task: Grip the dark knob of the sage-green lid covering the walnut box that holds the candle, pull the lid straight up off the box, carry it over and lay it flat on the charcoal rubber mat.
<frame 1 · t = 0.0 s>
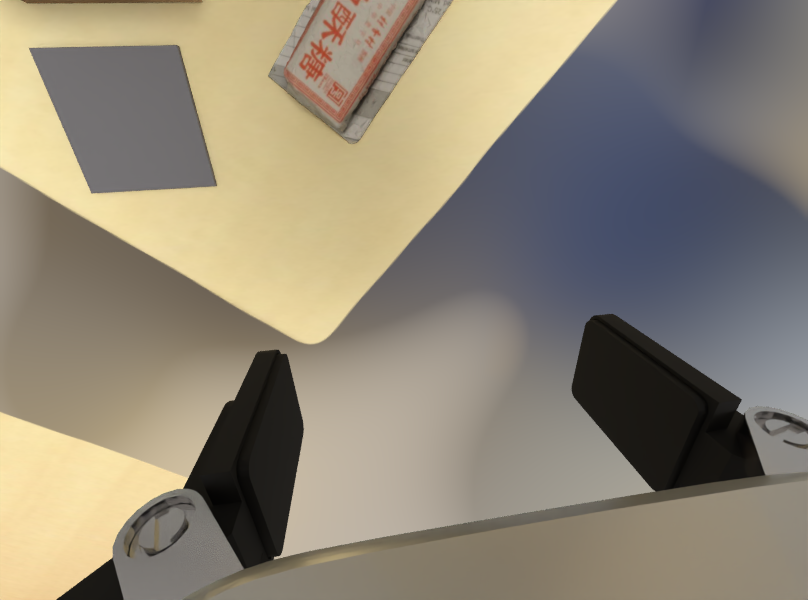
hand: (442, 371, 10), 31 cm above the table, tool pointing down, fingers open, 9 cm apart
packaged product: (365, 31, 32), on the table
mat: (134, 124, 32), on the table
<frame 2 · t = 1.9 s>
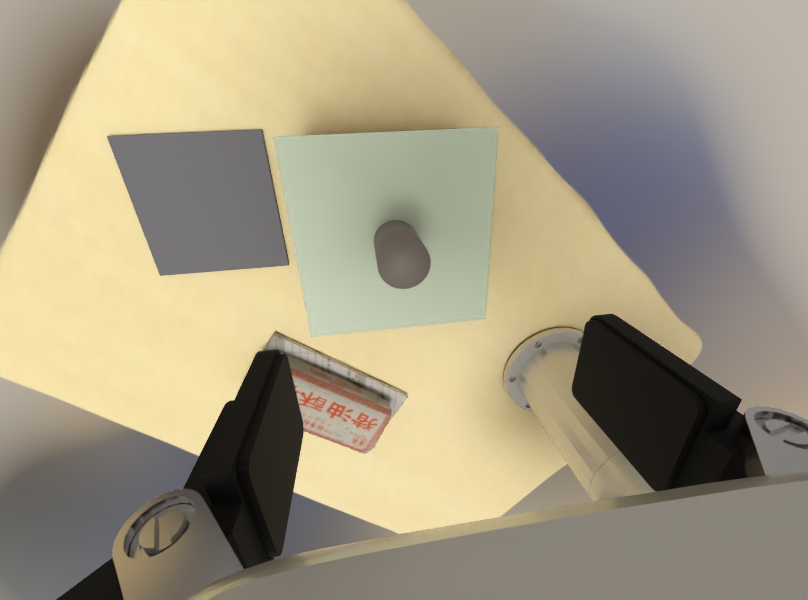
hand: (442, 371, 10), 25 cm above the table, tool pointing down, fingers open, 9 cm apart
lid: (394, 239, 25), point 8 cm above the table, touching box
packaged product: (326, 389, 41), on the table
mat: (208, 206, 30), on the table
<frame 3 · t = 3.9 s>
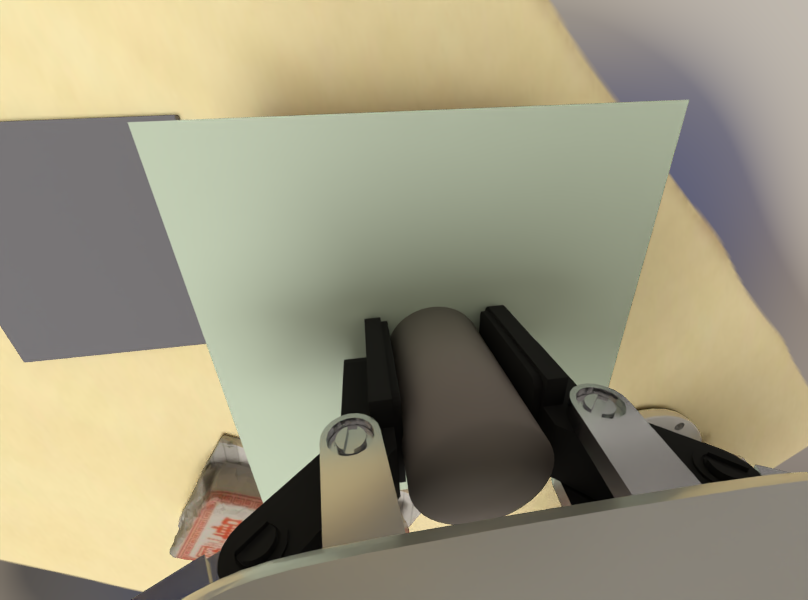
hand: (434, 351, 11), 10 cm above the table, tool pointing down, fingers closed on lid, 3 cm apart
lid: (428, 335, 12), point 8 cm above the table, touching box, gripper
packaged product: (312, 495, 29), on the table
mat: (95, 250, 17), on the table
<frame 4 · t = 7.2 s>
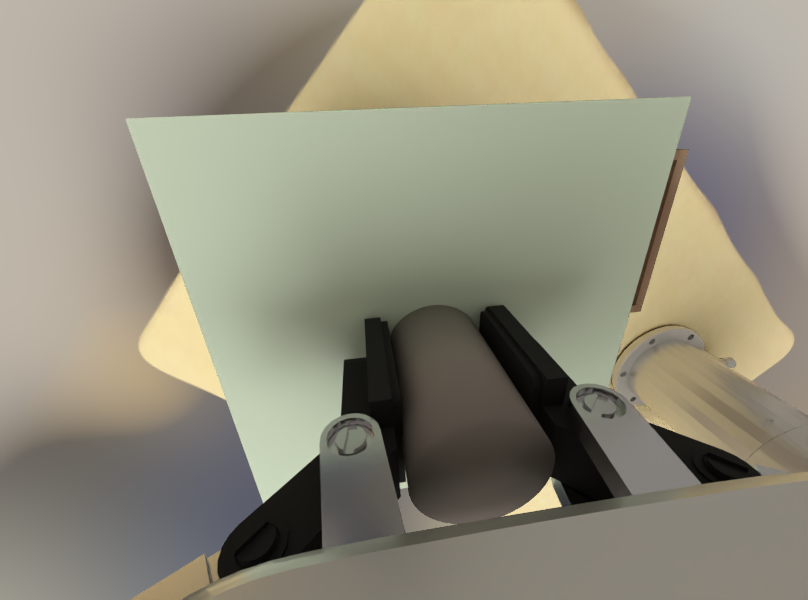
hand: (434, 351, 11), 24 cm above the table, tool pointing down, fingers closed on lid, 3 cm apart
lid: (428, 334, 12), point 23 cm above the table, touching gripper
box: (535, 222, 35), on the table
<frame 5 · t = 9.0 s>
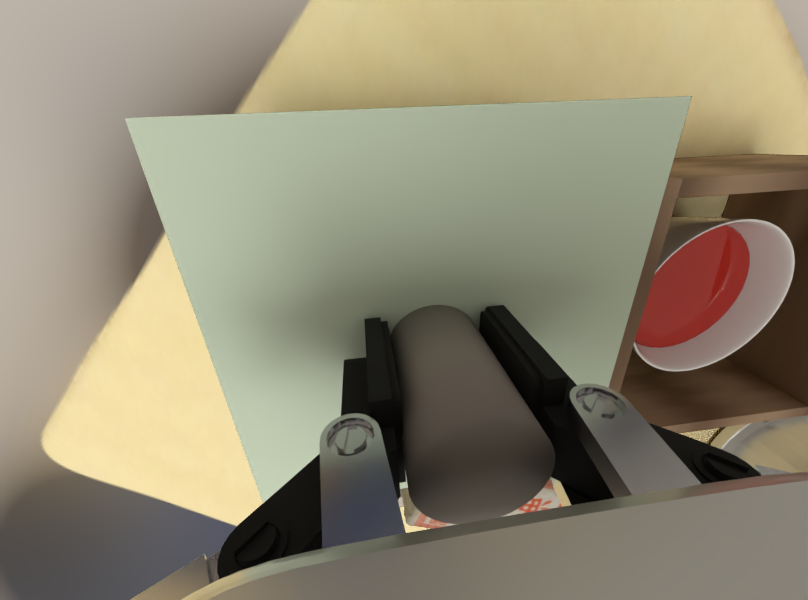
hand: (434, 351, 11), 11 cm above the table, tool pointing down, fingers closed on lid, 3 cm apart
lid: (428, 334, 12), point 10 cm above the table, touching gripper
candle: (625, 264, 24), resting in box
packaged product: (493, 468, 32), on the table
box: (627, 265, 24), on the table
when the fingers open (4 cm above the table, at t = 10.4 s): lid drops 1 cm, resting on mat.
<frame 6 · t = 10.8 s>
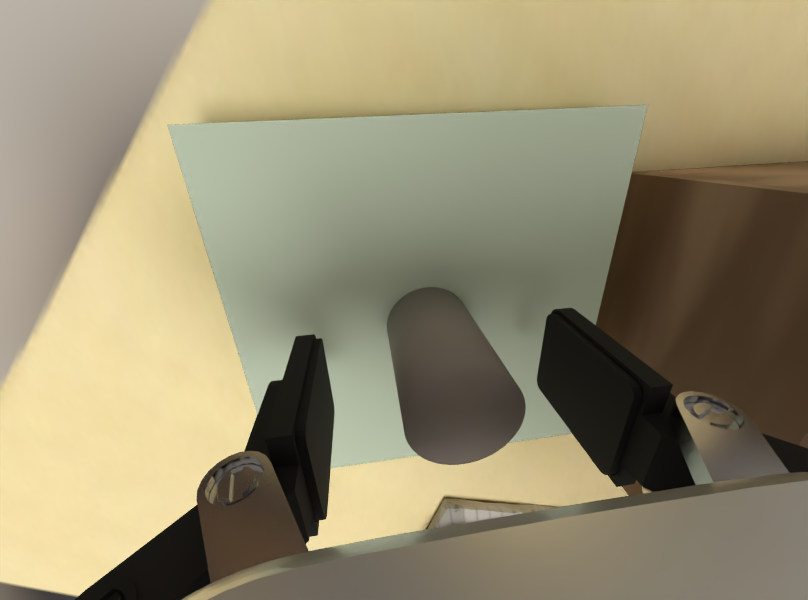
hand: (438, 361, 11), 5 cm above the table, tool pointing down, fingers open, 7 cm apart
lid: (424, 315, 14), point 2 cm above the table, touching mat
packaged product: (523, 539, 26), on the table
box: (715, 304, 18), on the table
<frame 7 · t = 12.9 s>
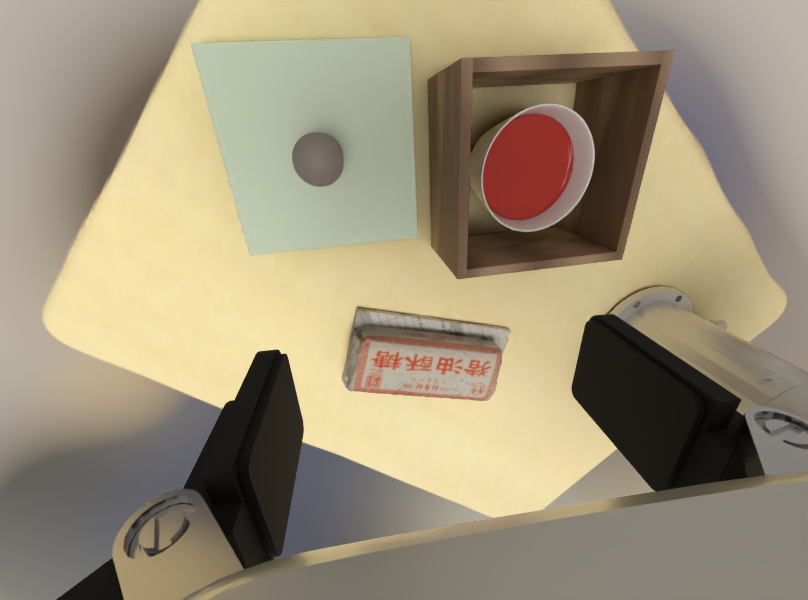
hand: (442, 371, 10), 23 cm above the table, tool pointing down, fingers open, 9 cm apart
lid: (322, 155, 26), point 2 cm above the table, touching mat
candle: (501, 165, 31), resting in box
packaged product: (424, 351, 39), on the table
box: (503, 165, 31), on the table
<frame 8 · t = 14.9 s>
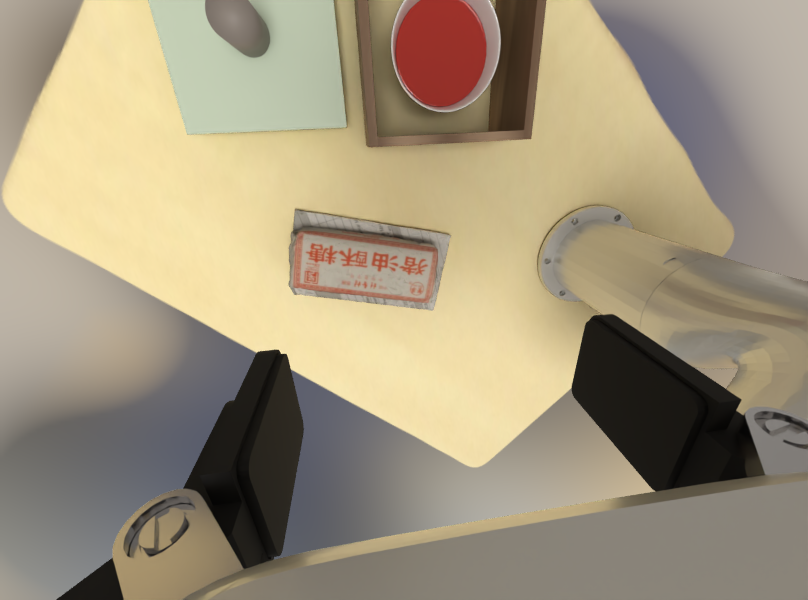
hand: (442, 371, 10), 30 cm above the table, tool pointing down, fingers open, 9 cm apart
lid: (252, 37, 29), point 2 cm above the table, touching mat
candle: (430, 64, 33), resting in box
packaged product: (369, 260, 41), on the table
box: (431, 64, 33), on the table
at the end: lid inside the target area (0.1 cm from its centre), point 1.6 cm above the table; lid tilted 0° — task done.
